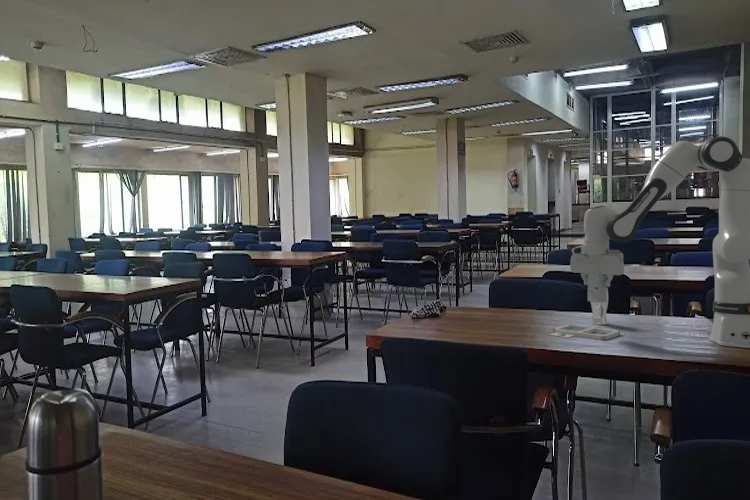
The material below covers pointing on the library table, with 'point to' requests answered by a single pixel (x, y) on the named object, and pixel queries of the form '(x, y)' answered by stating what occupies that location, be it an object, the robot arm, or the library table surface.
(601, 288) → the skincare box
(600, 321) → the beer glass
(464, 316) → the library table surface
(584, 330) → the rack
